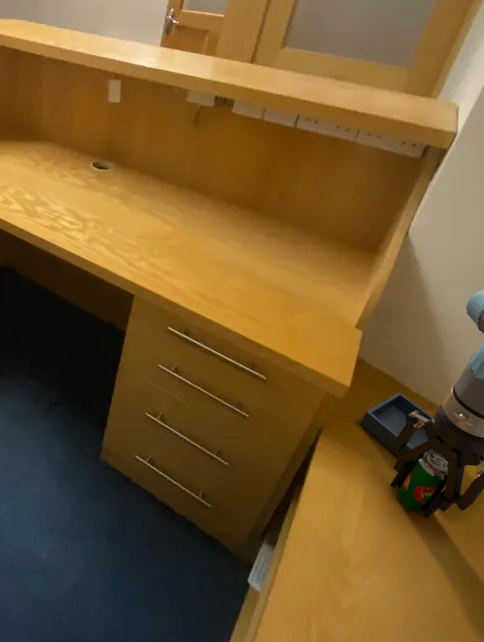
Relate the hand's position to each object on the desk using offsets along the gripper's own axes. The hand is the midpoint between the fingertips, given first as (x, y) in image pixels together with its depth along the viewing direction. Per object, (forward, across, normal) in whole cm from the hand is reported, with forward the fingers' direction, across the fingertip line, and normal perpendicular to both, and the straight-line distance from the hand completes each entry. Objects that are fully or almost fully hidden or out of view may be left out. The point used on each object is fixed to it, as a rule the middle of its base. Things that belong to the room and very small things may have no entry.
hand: (412, 497), depth 94 cm
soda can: (+1, 0, 0) cm, 1 cm away
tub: (+1, -9, +12) cm, 15 cm away
